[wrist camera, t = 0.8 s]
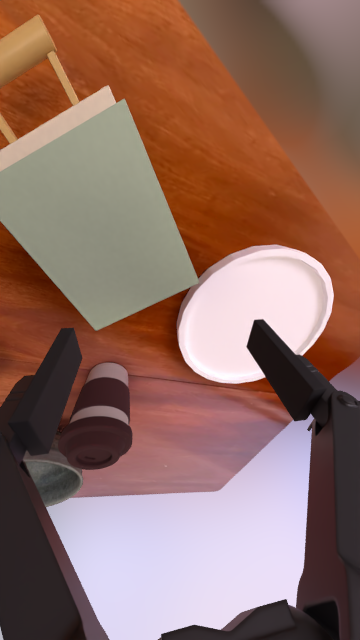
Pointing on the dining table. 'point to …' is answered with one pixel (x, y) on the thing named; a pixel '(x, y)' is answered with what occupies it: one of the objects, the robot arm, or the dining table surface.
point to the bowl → (54, 475)
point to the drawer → (37, 45)
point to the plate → (252, 309)
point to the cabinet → (97, 219)
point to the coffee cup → (99, 420)
